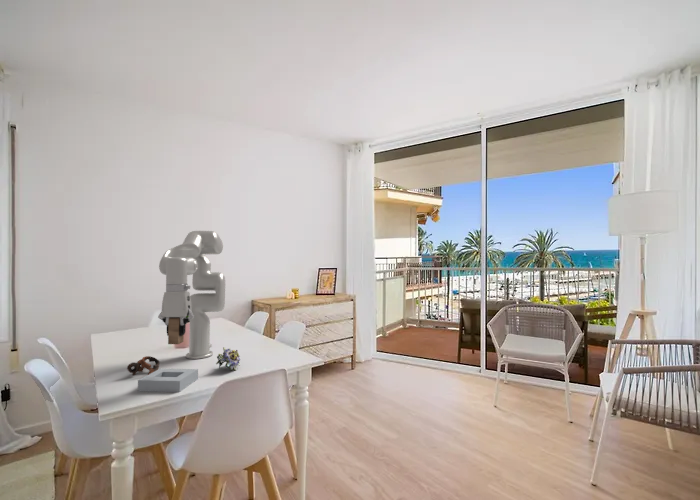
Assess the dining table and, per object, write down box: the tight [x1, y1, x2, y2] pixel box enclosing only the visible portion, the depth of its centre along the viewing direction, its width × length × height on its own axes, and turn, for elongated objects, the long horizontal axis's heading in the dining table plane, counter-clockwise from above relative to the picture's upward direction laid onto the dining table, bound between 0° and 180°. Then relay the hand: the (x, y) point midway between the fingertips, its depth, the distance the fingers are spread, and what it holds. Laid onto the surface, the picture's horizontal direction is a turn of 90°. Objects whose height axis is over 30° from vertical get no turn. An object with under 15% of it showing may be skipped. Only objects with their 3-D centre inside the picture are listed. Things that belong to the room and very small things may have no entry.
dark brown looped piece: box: [126, 355, 160, 376], centre depth 148 cm, size 12×10×8 cm
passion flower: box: [215, 347, 241, 371], centre depth 156 cm, size 11×11×12 cm
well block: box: [137, 368, 199, 393], centre depth 136 cm, size 14×16×4 cm
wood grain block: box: [167, 318, 185, 345], centre depth 138 cm, size 4×4×10 cm
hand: (176, 334), depth 138 cm, fingers closed on wood grain block, 4 cm apart
